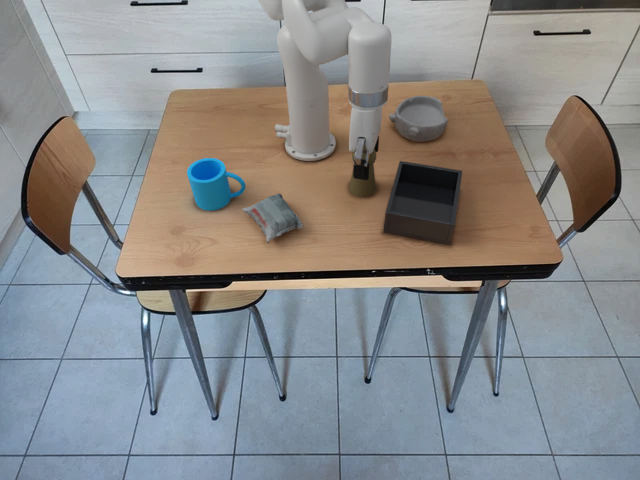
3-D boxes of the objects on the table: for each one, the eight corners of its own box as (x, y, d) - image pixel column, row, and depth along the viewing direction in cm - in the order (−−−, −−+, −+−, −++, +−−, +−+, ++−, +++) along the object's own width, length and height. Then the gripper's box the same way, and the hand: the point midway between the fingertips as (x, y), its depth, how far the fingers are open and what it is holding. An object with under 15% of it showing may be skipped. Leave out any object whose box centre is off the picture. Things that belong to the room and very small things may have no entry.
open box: (383, 232, 102) (385, 212, 97) (397, 181, 112) (399, 160, 108) (449, 245, 99) (454, 225, 95) (457, 191, 110) (462, 170, 105)
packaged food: (268, 250, 100) (266, 233, 96) (243, 215, 106) (240, 198, 103) (305, 233, 102) (304, 217, 99) (278, 200, 109) (276, 184, 106)
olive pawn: (374, 198, 109) (377, 159, 100) (347, 195, 110) (348, 156, 101) (377, 180, 113) (380, 142, 104) (351, 177, 114) (352, 139, 105)
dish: (430, 106, 132) (433, 90, 128) (457, 135, 123) (461, 118, 119) (381, 119, 128) (383, 102, 125) (406, 149, 120) (408, 132, 116)
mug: (191, 210, 108) (182, 182, 102) (199, 185, 113) (191, 157, 107) (245, 211, 107) (239, 183, 101) (250, 186, 113) (245, 158, 106)
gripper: (359, 68, 99) (358, 138, 111) (337, 115, 88) (339, 187, 100) (395, 72, 97) (390, 142, 110) (378, 120, 86) (375, 193, 99)
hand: (366, 164), depth 105 cm, fingers open, 9 cm apart
